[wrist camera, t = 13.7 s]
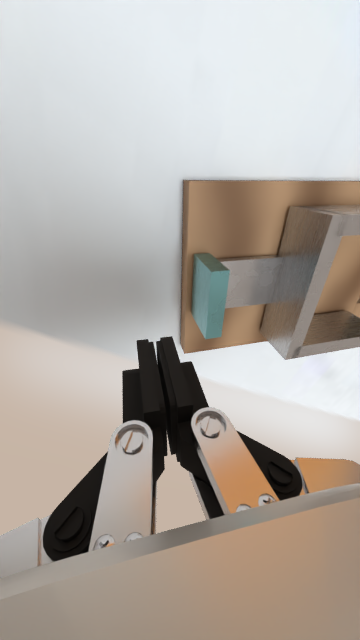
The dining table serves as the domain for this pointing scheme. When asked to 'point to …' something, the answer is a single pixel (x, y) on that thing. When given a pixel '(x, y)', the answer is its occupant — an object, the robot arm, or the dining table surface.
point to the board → (258, 246)
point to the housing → (283, 285)
